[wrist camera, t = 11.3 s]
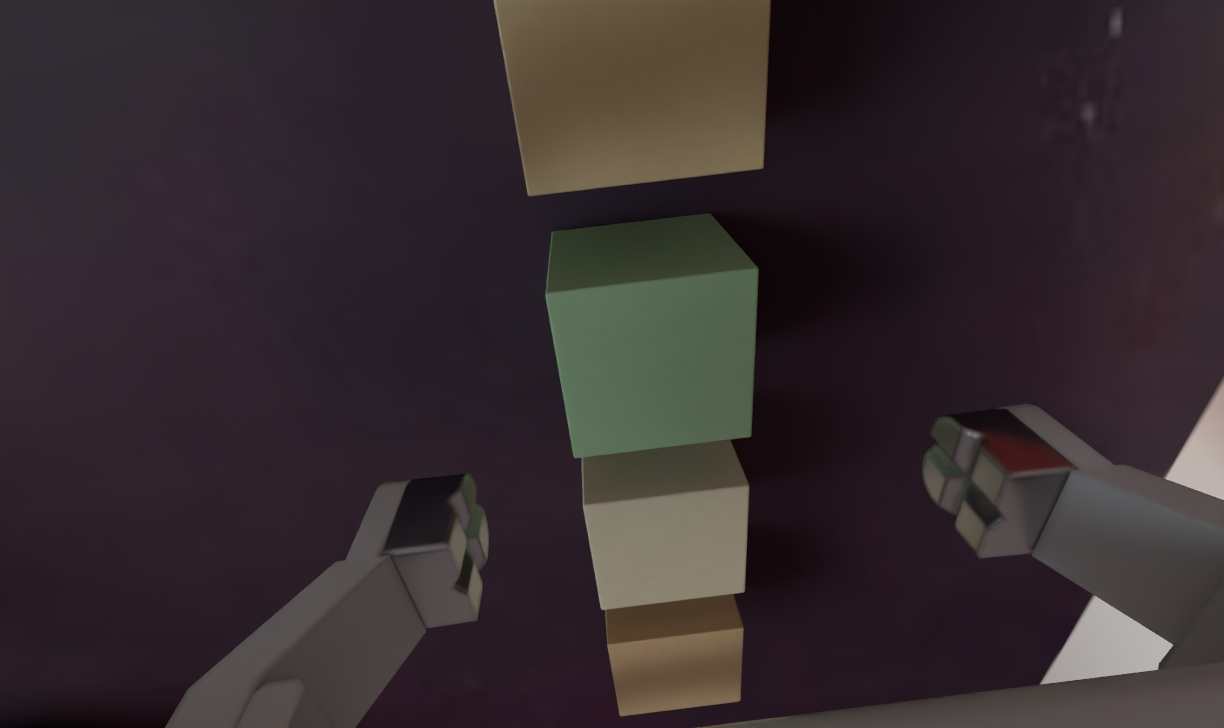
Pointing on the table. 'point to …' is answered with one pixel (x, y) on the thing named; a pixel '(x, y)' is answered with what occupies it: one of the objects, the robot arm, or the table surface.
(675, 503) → the line block
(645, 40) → the line block
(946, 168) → the table surface
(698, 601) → the line block
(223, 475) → the table surface
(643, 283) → the green block
